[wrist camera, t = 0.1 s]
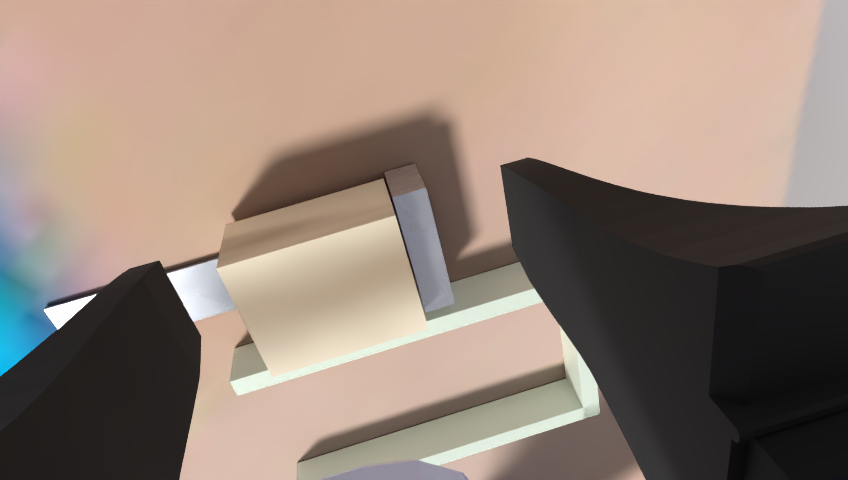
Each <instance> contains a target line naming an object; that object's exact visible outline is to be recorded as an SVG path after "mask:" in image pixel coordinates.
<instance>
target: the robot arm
mask: <svg viewBox="0 0 848 480" xmlns="http://www.w3.org/2000/svg"><path fill="white" fill-rule="evenodd" d="M500 166H501V173H502V179H503V186H504V193H505V199H506V206H507V213H508V219H509V226H510V233H511V239H512V246H513V248H514V251H515V253H516V255H517V257H518V259H519V261H520V263H521V265H522V267H523V269H524V271H525V273H526V275H527V277H528V279H529V281H530V283H531V284H532V286H533V287H534V289H535V290H536V292H537V293H538V295H539V296H540V298H541V299H542V300H543V302H544V303H545V305H546V306H547V308H548V309H549V311H550V312H551V314H552V315H553V316H554V318H555V319H556V321H557V322H558V324H559V325H560V326H561V328H562V329H563V331H564V332H565V334H566V335H567V337H568V338H569V339H570V341H571V342H572V344H573V345H574V347H575V348H576V350H577V351H578V352H579V354H580V355H581V357H582V359H583V360H584V362H585V364H586V365H587V367H588V368H589V370H590V372H591V373H592V375H593V377H594V379H595V381H596V383H597V385H598V387H599V388H600V390H601V392H602V394H603V396H604V398H605V400H606V402H607V403H608V405H609V407H610V409H611V411H612V413H613V415H614V417H615V419H616V421H617V423H618V425H619V427H620V429H621V431H622V433H623V434H624V436H625V438H626V440H627V442H628V444H629V446H630V448H631V450H632V452H633V454H634V456H635V458H636V460H637V462H638V465H639V467H640V469H641V471H642V473H643V475H644V477H645V479H646V480H848V206H835V207H810V208H808V207H806V208H805V207H756V206H738V205H727V204H715V203H705V202H697V201H689V200H683V199H677V198H671V197H666V196H660V195H655V194H650V193H645V192H641V191H637V190H633V189H629V188H625V187H621V186H618V185H614V184H610V183H607V182H604V181H600V180H597V179H594V178H591V177H588V176H585V175H582V174H579V173H576V172H573V171H570V170H567V169H564V168H561V167H558V166H555V165H552V164H549V163H546V162H543V161H540V160H537V159H533V158H525V159H522V160H518V161H514V162H511V163H507V164H504V165H500ZM200 361H201V335H200V333H199V332H198V330H197V328H196V326H195V324H194V322H193V321H192V319H191V317H190V315H189V313H188V312H187V310H186V308H185V306H184V304H183V302H182V301H181V299H180V297H179V295H178V293H177V292H176V290H175V288H174V286H173V284H172V282H171V281H170V279H169V277H168V275H167V273H166V272H165V270H164V268H163V266H162V264H161V263H160V261H156V262H152V263H148V264H145V265H141V266H138V267H134V268H131V269H128V270H127V271H125V272H124V273H122V274H121V275H120V276H118V277H117V278H116V279H114V280H113V281H112V282H111V283H109V284H108V285H107V286H106V287H105V288H104V289H102V290H101V291H100V292H99V293H98V294H97V295H96V296H94V297H93V298H92V299H91V300H90V301H89V302H88V303H87V304H85V305H84V306H83V307H82V308H81V309H80V310H79V311H78V312H76V313H75V314H74V315H73V316H72V317H71V318H70V319H69V320H67V321H66V322H65V323H64V324H63V325H62V326H61V327H60V328H58V329H57V330H56V331H55V332H54V333H53V334H51V335H50V336H49V337H48V338H47V339H46V340H44V341H43V342H42V343H41V344H40V345H38V346H37V347H36V348H35V349H34V350H32V351H31V352H30V353H29V354H28V355H26V356H25V357H24V358H23V359H22V360H20V361H19V362H18V363H17V364H16V365H14V366H13V367H12V368H11V369H9V370H8V371H7V372H6V373H4V374H3V375H2V376H0V480H179V478H180V472H181V467H182V462H183V458H184V453H185V448H186V443H187V438H188V433H189V429H190V424H191V419H192V414H193V409H194V404H195V399H196V394H197V389H198V383H199V378H200ZM317 480H468V479H467V477H466V476H465V475H464V473H462V472H458V471H455V470H451V469H448V468H444V467H441V466H437V465H433V464H430V463H426V462H423V461H419V460H416V459H409V460H401V461H393V462H385V463H377V464H369V465H363V466H360V467H356V468H353V469H350V470H346V471H343V472H340V473H337V474H333V475H330V476H327V477H324V478H320V479H317Z"/></svg>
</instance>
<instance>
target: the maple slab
mask: <svg viewBox="0 0 848 480" xmlns="http://www.w3.org/2000/svg"><path fill="white" fill-rule="evenodd" d="M216 269H217V271H218V273H219V275H220V277H221V279H222V281H223V283H224V285H225V287H226V289H227V291H228V293H229V295H230V297H231V298H232V300H233V302H234V304H235V306H236V308H237V310H238V312H239V314H240V316H241V318H242V320H243V322H244V324H245V326H246V328H247V329H248V331H249V333H250V335H251V337H252V339H253V341H254V343H255V345H256V347H257V349H258V351H259V353H260V355H261V357H262V359H263V361H264V362H265V364H266V366H267V368H268V370H269V372H270V374H271V376H272V377H274V376H277V375H281V374H284V373H287V372H290V371H294V370H297V369H300V368H303V367H307V366H310V365H313V364H316V363H320V362H323V361H326V360H329V359H333V358H336V357H339V356H342V355H346V354H349V353H352V352H355V351H359V350H362V349H365V348H368V347H372V346H375V345H378V344H381V343H385V342H388V341H391V340H394V339H398V338H401V337H404V336H407V335H411V334H414V333H417V332H420V331H424V330H427V329H428V325H427V322H426V318H425V315H424V312H423V308H422V305H421V301H420V298H419V294H418V291H417V288H416V284H415V281H414V277H413V274H412V270H411V267H410V264H409V260H408V257H407V253H406V250H405V247H404V243H403V240H402V236H401V233H400V229H399V226H398V223H397V219H396V216H395V213H394V209H393V206H392V203H391V200H390V197H389V194H388V191H387V188H386V185H385V182H384V178H383V179H380V180H376V181H373V182H370V183H366V184H363V185H359V186H356V187H353V188H349V189H346V190H342V191H339V192H335V193H332V194H329V195H325V196H322V197H318V198H315V199H312V200H308V201H305V202H301V203H298V204H295V205H291V206H288V207H284V208H281V209H278V210H274V211H271V212H267V213H264V214H260V215H257V216H254V217H250V218H247V219H243V220H240V221H237V222H233V223H230V224H226V226H225V230H224V235H223V240H222V244H221V249H220V253H219V258H218V262H217V267H216Z"/></svg>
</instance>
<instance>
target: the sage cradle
mask: <svg viewBox="0 0 848 480" xmlns="http://www.w3.org/2000/svg"><path fill="white" fill-rule="evenodd" d="M450 285H451V289H452V293H453V297H454V301H455V304H452V305H449V306H446V307H442V308H439V309H436V310H433V311H429V312H425V309H424V306H423V302H422V299H421V296H420V293H419V292H418V294H419V298H420V301H421V305H422V308H423V312H424V315H425V318H426V322H427V325H428V329H427V330H424V331H420V332H417V333H414V334H411V335H407V336H404V337H401V338H398V339H394V340H391V341H388V342H385V343H381V344H378V345H375V346H372V347H368V348H365V349H362V350H359V351H355V352H352V353H349V354H346V355H342V356H339V357H336V358H333V359H329V360H326V361H323V362H320V363H316V364H313V365H310V366H307V367H303V368H300V369H297V370H294V371H290V372H287V373H284V374H281V375H277V376H274V377H272V376H271V374H270V372H269V370H268V368H267V366H266V364H265V362H264V361H263V359H262V357H261V355H260V353H259V351H258V349H257V347H256V345H255V343H251V344H247V345H244V346H241V347H237V348H234V355H233V362H232V369H231V376H230V383H231V385H232V387H233V388H234V390H235V392H236V394H237V395H242V394H245V393H248V392H251V391H255V390H258V389H261V388H264V387H268V386H271V385H274V384H277V383H281V382H284V381H287V380H290V379H294V378H297V377H300V376H303V375H307V374H310V373H313V372H316V371H320V370H323V369H326V368H329V367H333V366H336V365H339V364H342V363H346V362H349V361H352V360H355V359H359V358H362V357H365V356H368V355H372V354H375V353H378V352H381V351H385V350H388V349H391V348H394V347H398V346H401V345H404V344H407V343H411V342H414V341H417V340H420V339H424V338H427V337H430V336H433V335H437V334H440V333H443V332H446V331H450V330H453V329H456V328H459V327H462V326H466V325H469V324H472V323H475V322H479V321H482V320H485V319H488V318H492V317H495V316H498V315H501V314H505V313H508V312H511V311H514V310H518V309H521V308H524V307H527V306H531V305H534V304H537V303H540V302H543V300H542V299H541V298H540V296H539V295H538V293H537V292H536V290H535V289H534V287H533V286H532V284H531V283H530V281H529V279H528V277H527V275H526V273H525V271H524V269H523V267H522V265H521V263H520V262H517V263H514V264H510V265H507V266H504V267H501V268H497V269H494V270H491V271H487V272H484V273H481V274H478V275H474V276H471V277H468V278H464V279H461V280H458V281H454V282H451V283H450ZM559 327H560V335H561V342H562V350H563V358H564V365H565V373H566V378H565V379H562V380H559V381H556V382H553V383H550V384H546V385H543V386H540V387H537V388H534V389H530V390H527V391H524V392H521V393H518V394H515V395H511V396H508V397H505V398H502V399H499V400H496V401H492V402H489V403H486V404H483V405H480V406H477V407H473V408H470V409H467V410H464V411H461V412H458V413H454V414H451V415H448V416H445V417H442V418H439V419H435V420H432V421H429V422H426V423H423V424H419V425H416V426H413V427H410V428H407V429H404V430H400V431H397V432H394V433H391V434H388V435H385V436H381V437H378V438H375V439H372V440H369V441H366V442H362V443H359V444H356V445H353V446H350V447H347V448H343V449H340V450H337V451H334V452H331V453H328V454H324V455H321V456H318V457H315V458H312V459H308V460H305V461H302V462H299V463H297V480H317V479H320V478H324V477H327V476H330V475H333V474H337V473H340V472H343V471H346V470H350V469H353V468H356V467H360V466H363V465H369V464H377V463H385V462H393V461H401V460H409V459H416V460H419V461H423V462H426V463H430V464H433V465H437V466H438V465H441V464H444V463H447V462H451V461H454V460H457V459H460V458H463V457H466V456H469V455H473V454H476V453H479V452H482V451H485V450H488V449H491V448H494V447H498V446H501V445H504V444H507V443H510V442H513V441H516V440H520V439H523V438H526V437H529V436H532V435H535V434H538V433H541V432H545V431H548V430H551V429H554V428H557V427H560V426H563V425H566V424H570V423H573V422H576V421H579V420H582V419H585V418H588V417H592V416H595V415H598V414H600V409H599V397H598V386H597V383H596V381H595V379H594V377H593V375H592V373H591V372H590V370H589V368H588V367H587V365H586V364H585V362H584V360H583V359H582V357H581V355H580V354H579V352H578V351H577V350H576V348H575V347H574V345H573V344H572V342H571V341H570V339H569V338H568V337H567V335H566V334H565V332H564V331H563V329H562V328H561V326H560V325H559Z"/></svg>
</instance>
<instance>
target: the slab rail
mask: <svg viewBox="0 0 848 480" xmlns="http://www.w3.org/2000/svg"><path fill="white" fill-rule="evenodd" d="M384 174H385V177H386V181H387V184H388V188H389V191H390V194H391V198H392V201H393V204H392V206H393V209H394V213H395V216H396V219H397V223H398V226H399V229H400V233H401V236H402V240H403V243H404V247H405V250H406V253H407V257H409V260H410V263H411V267H412V270H413V274H414V277H415V280H416V284H417V287H418V290H419V293H420V296H421V299H422V302H423V306H424V309H425V312H429V311H433V310H436V309H439V308H442V307H446V306H449V305H452V304H455V301H454V297H453V293H452V289H451V285H450V281H449V277H448V273H447V269H446V265H445V261H444V257H443V253H442V249H441V247H442V246H441V242H440V238H439V234H438V230H437V226H436V222H435V218H434V214H433V210H432V206H431V202H430V198H429V195H428V193H427V189H426V186H425V184H424V182H423V180H422V178H421V176H420V173H419V171H418V169H417V167H416V165H415V163H414V164H410V165H407V166H403V167H400V168H397V169H393V170H390V171H386V172H384ZM218 258H219V256H216V257H213V258H210V259H206V260H203V261H200V262H196V263H193V264H189V265H186V266H183V267H179V268H176V269H173V270H169V271H166V273H167V275H168V277H169V279H170V281H171V282H172V284H173V286H174V288H175V290H176V292H177V293H178V295H179V297H180V299H181V301H182V302H183V304H184V306H185V308H186V310H187V312H188V313H189V315H190V317H191V319H192V321H193V322H194V321H197V320H201V319H204V318H207V317H211V316H214V315H217V314H221V313H224V312H227V311H231V310H234V309H237V308H236V306H235V304H234V302H233V300H232V298H231V297H230V295H229V293H228V291H227V289H226V287H225V285H224V283H223V281H222V279H221V277H220V275H219V273H218V271H217V269H216V267H217V262H218ZM99 292H100V291H98V292H95V293H91V294H88V295H85V296H81V297H78V298H74V299H71V300H68V301H64V302H61V303H58V304H54V305H51V306H47V307H45V309H44V311H45V312H46V314H47V315H48V316H49V318H50V319H51V320H52V322H53V323H54V324H55V326H56V327H57V328H60V327H61V326H62V325H63V324H64V323H65V322H66V321H67V320H69V319H70V318H71V317H72V316H73V315H74V314H75V313H76V312H78V311H79V310H80V309H81V308H82V307H83V306H84V305H85V304H87V303H88V302H89V301H90V300H91V299H92V298H93V297H94V296H96V295H97V294H98V293H99Z"/></svg>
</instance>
